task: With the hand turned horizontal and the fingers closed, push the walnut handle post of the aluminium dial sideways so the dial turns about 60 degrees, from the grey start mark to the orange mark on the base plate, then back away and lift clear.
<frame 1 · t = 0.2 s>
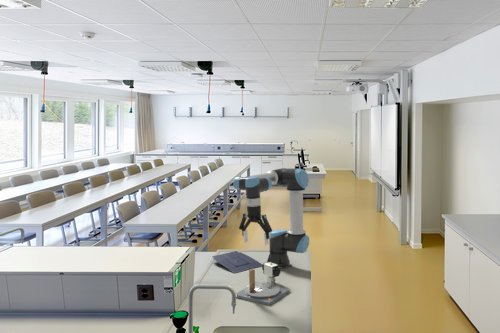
hand: (256, 243, 240), 28 cm above the counter, fingers open, 13 cm apart
dial: (262, 279, 238), point 9 cm above the counter, hinge at 0.0°
dial plate: (262, 294, 239), on the counter
dark blue flat panel: (236, 264, 293), on the counter
pneumatic valve: (271, 282, 258), on the counter
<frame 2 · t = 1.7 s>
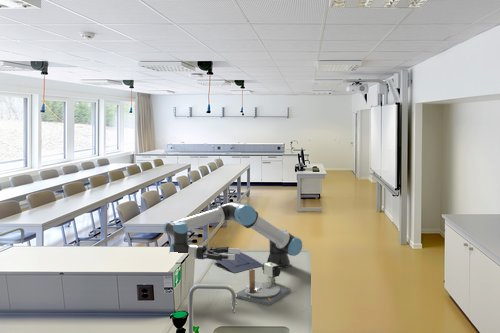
hand: (237, 254, 232), 24 cm above the counter, fingers open, 10 cm apart
nothing on the counter moved.
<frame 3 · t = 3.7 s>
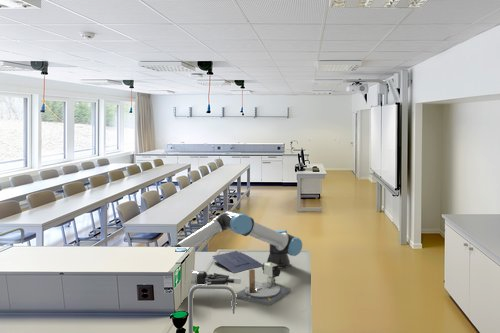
hand: (240, 280, 233), 10 cm above the counter, fingers closed
nothing on the counter moved.
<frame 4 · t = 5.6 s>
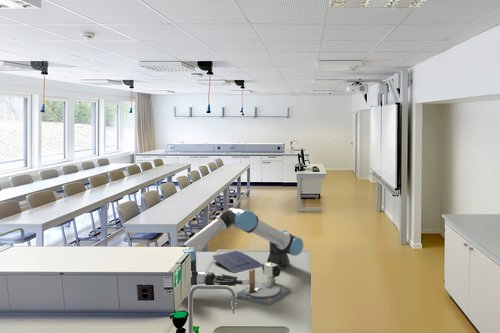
hand: (248, 282, 232), 9 cm above the counter, fingers closed
dial: (262, 279, 238), point 9 cm above the counter, hinge at 0.5°, touching gripper
everything else where it was.
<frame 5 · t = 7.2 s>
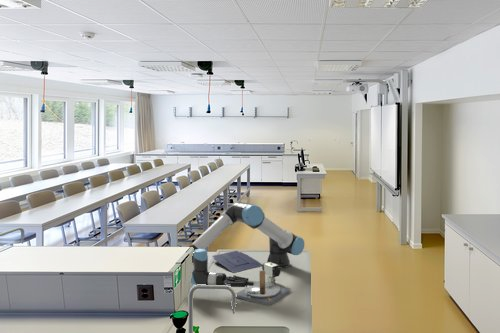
hand: (259, 284, 229), 9 cm above the counter, fingers closed
dial: (262, 279, 238), point 9 cm above the counter, hinge at 43.2°, touching gripper
everything else where it was.
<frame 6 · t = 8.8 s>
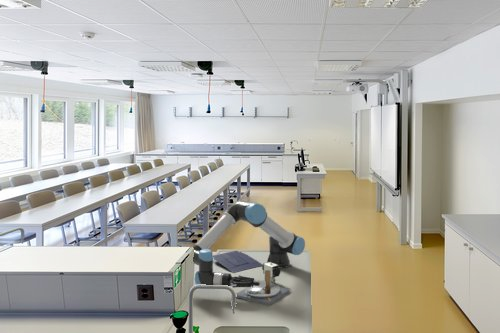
hand: (265, 283, 229), 9 cm above the counter, fingers closed
dial: (262, 279, 238), point 9 cm above the counter, hinge at 63.2°, touching gripper
everything else where it was.
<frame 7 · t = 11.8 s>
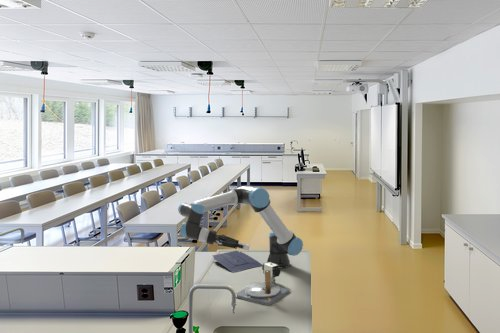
hand: (249, 248, 239), 26 cm above the counter, fingers closed
dial: (262, 279, 238), point 9 cm above the counter, hinge at 64.0°
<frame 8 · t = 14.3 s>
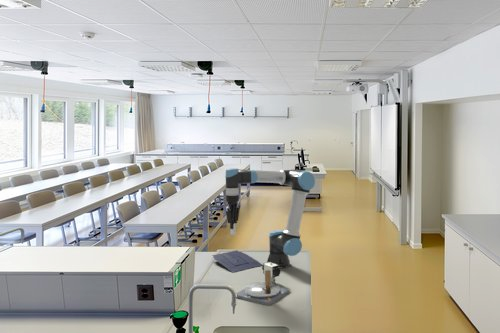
hand: (233, 234, 259), 28 cm above the counter, fingers closed
at the end: dial at +64° (first picture: +0°); the gripper is holding nothing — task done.
